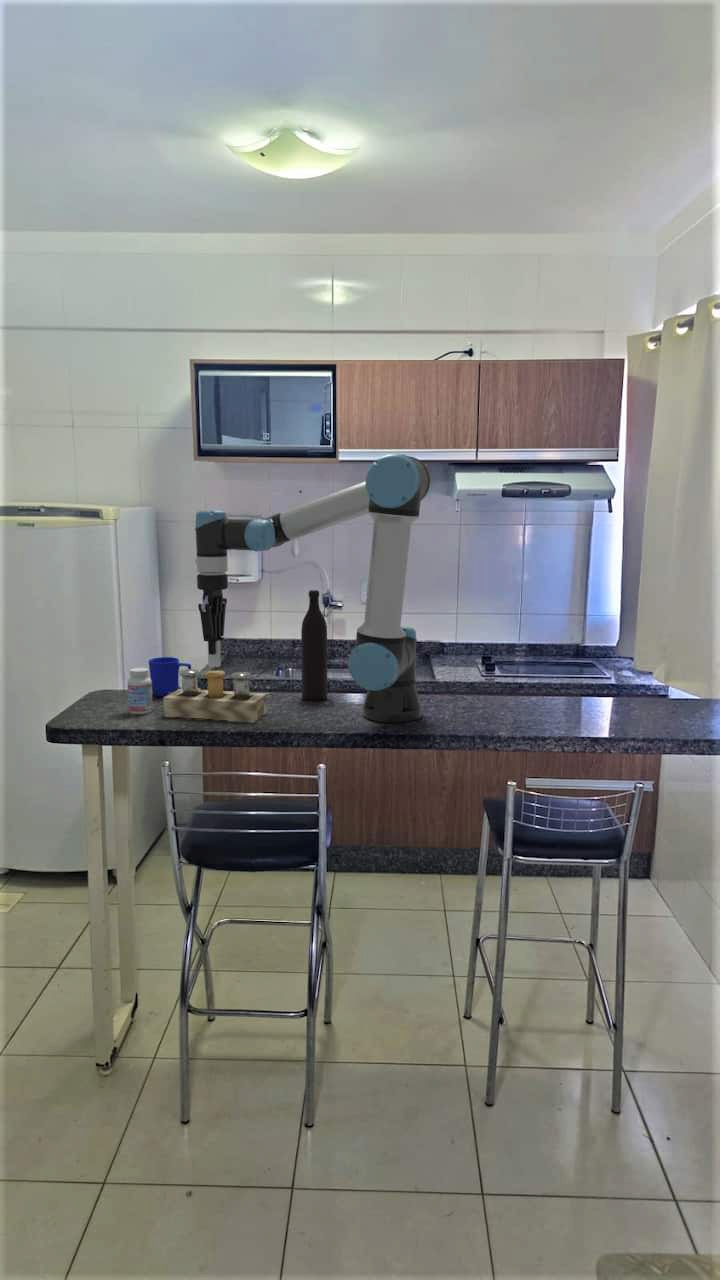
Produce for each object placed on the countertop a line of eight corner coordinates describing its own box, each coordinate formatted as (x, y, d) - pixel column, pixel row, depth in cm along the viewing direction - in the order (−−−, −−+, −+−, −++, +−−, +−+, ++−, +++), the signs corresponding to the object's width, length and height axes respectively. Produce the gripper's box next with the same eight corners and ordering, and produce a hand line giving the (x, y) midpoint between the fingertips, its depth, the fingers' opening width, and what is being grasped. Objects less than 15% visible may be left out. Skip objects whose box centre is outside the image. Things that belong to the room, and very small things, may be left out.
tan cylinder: (228, 696, 206) (227, 671, 204) (221, 700, 201) (220, 675, 200) (210, 695, 207) (209, 670, 205) (203, 699, 202) (202, 674, 201)
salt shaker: (202, 694, 207) (201, 669, 206) (195, 699, 202) (194, 673, 201) (185, 693, 208) (184, 668, 207) (177, 697, 203) (176, 672, 202)
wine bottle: (328, 695, 225) (327, 589, 219) (326, 701, 218) (326, 592, 213) (303, 694, 225) (302, 589, 220) (300, 701, 218) (299, 592, 213)
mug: (185, 699, 219) (184, 664, 217) (144, 697, 221) (143, 662, 220) (197, 692, 227) (196, 658, 225) (158, 690, 229) (156, 656, 227)
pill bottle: (124, 714, 205) (122, 671, 203) (136, 708, 210) (134, 666, 208) (145, 715, 203) (143, 672, 201) (157, 709, 209) (155, 667, 207)
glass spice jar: (253, 697, 204) (253, 672, 203) (247, 702, 199) (246, 676, 198) (236, 696, 205) (235, 671, 204) (229, 701, 200) (228, 675, 199)
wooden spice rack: (267, 712, 207) (266, 693, 206) (253, 722, 197) (253, 703, 196) (181, 706, 212) (180, 688, 211) (164, 716, 202) (163, 697, 201)
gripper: (208, 570, 205) (210, 660, 209) (187, 575, 193) (189, 670, 197) (236, 571, 203) (237, 661, 208) (216, 576, 191) (218, 672, 195)
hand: (214, 666), depth 202 cm, fingers closed
